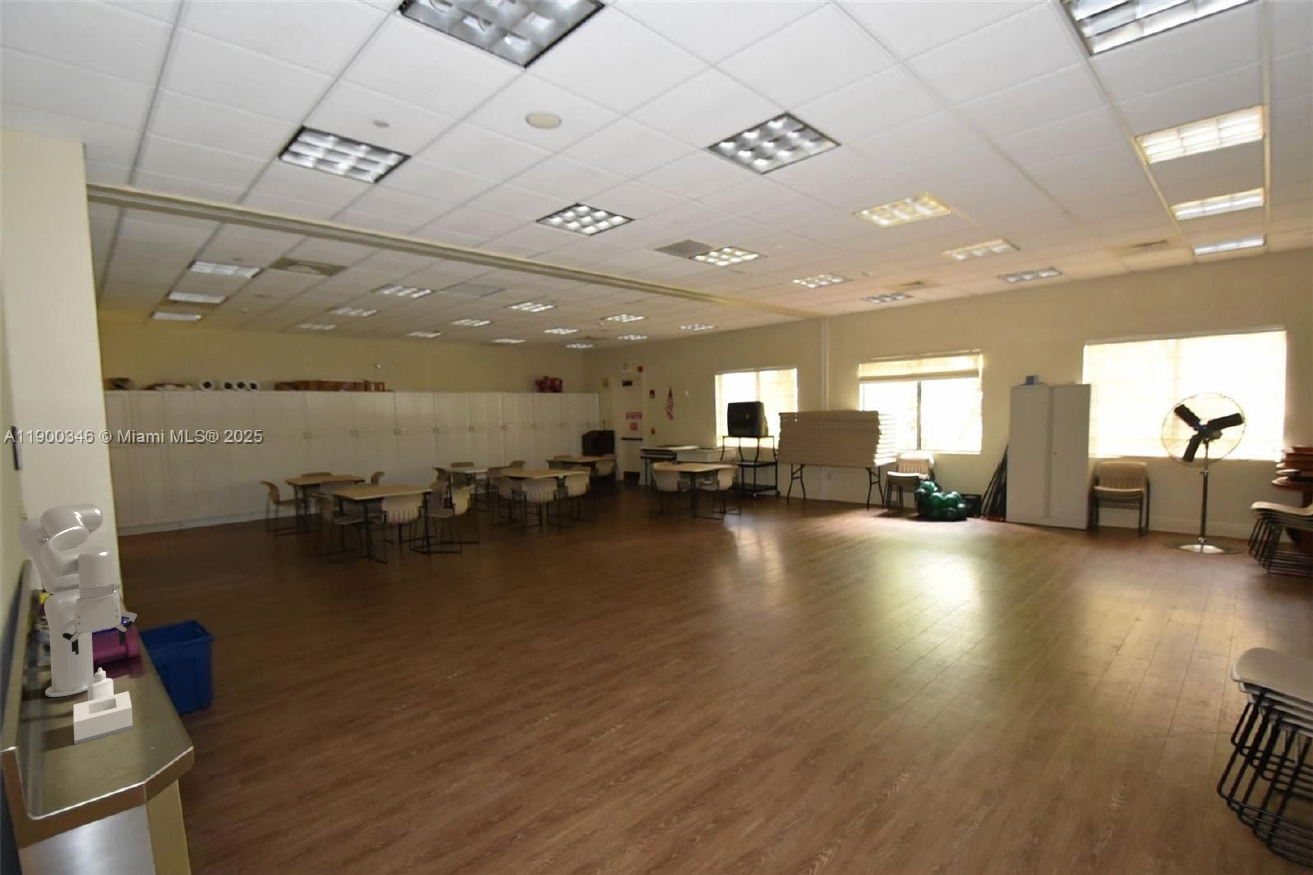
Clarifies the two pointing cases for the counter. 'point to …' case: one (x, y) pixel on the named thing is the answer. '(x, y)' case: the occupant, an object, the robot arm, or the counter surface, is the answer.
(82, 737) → the keyed holder
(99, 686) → the eye dropper bottle
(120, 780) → the counter surface
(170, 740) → the counter surface
